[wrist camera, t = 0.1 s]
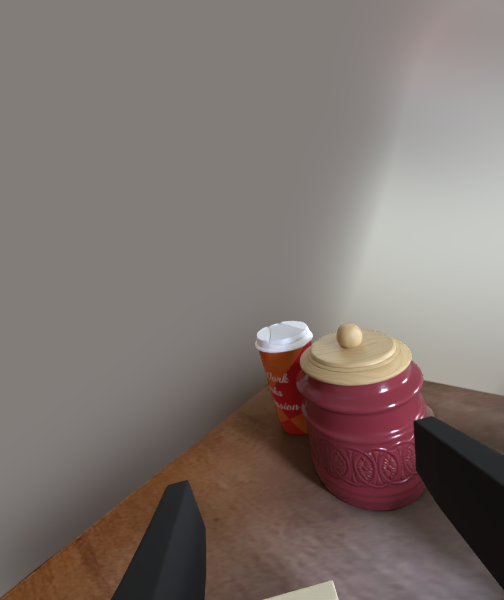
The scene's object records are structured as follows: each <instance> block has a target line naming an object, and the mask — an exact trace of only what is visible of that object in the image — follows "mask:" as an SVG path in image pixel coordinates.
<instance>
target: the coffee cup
mask: <svg viewBox="0 0 504 600" xmlns="http://www.w3.org/2000/svg"><path fill="white" fill-rule="evenodd" d="M268 328H269V329H268ZM256 337H257V340H256V343H255V347H256V348H257V349H258V350H259V352H260V355H261V359H262V362H263V366H264V369H265V373H266V376H267V380H268V383H269V386H270V390H271V393H272V396H273V400H274V403H275V406H276V410H277V413H278V416H279V419H280V422H281V425H282V427H283V429H284V430H285V431H286V432H288V433H291V434H295V435H302V434H307V433H308V430H307V425H306V420H305V418H304V416H303V413H302V409H301V403H302V399H303V396H302V395H301V394H300V392H299V390H298V388H297V384H296V379H297V375H298V373H299V371H300V369H301V365H300V358H301V355H302V354H303V352H304V351H305V350H306V349H307V348H308V347H310V346H311V339H312V337H313V335H312V332H311V331H310V330H309V329H308V327H307V325H306V324H305V323H303V322H299V321H285V322H281V324H278V323H277V324H274V325H271V326H270V327H265V328H263V329H261V330H260V331H259V332H258V333H257V336H256Z"/></svg>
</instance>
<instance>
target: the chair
mask: <svg viewBox="0 0 504 600" xmlns="http://www.w3.org/2000/svg"><path fill="white" fill-rule="evenodd" d="M264 600H338V596H337V593H336V590H335V587H334V584H333V581H332V580H330V581H327V582H323V583H320V584H316V585H313V586H309V587H306V588H302V589H299V590H295V591H292V592H288V593H285V594H281V595H278V596H274V597H271V598H267V599H264Z"/></svg>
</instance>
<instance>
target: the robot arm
mask: <svg viewBox="0 0 504 600" xmlns="http://www.w3.org/2000/svg"><path fill="white" fill-rule="evenodd" d="M413 422H414V441H415V460H416V471H417V473H418V474H419V476H420V478H421V479H422V481H423V482H424V484H425V486H426V487H427V489H428V491H429V492H430V494H431V495H432V497H433V498H434V500H435V501H436V503H437V504H438V506H439V507H440V509H441V510H442V511H443V513H444V514H445V515H446V517H447V518H448V519H449V520H450V522H451V523H452V524H453V526H454V527H455V528H456V529H457V531H458V532H459V533H460V535H461V536H462V537H463V539H464V540H465V541H466V542H467V544H468V545H469V546H470V548H471V549H472V550H473V551H474V553H475V554H476V555H477V557H478V558H479V559H480V560H481V562H482V563H483V564H484V565H485V567H486V568H487V569H488V571H489V572H490V573H491V574H492V576H493V577H494V578H495V580H496V581H497V582H498V583H499V585H500V586H501V587H502V589H503V590H504V455H502V454H500V453H498V452H496V451H494V450H493V449H491V448H489V447H487V446H485V445H484V444H482V443H480V442H478V441H476V440H475V439H473V438H471V437H469V436H467V435H466V434H464V433H462V432H460V431H458V430H457V429H455V428H453V427H451V426H450V425H448V424H446V423H444V422H442V421H441V420H439V419H437V418H435V417H433V416H429V417H426V418H422V419H418V420H414V421H413ZM205 583H206V533H205V525H204V522H203V520H202V517H201V514H200V512H199V509H198V506H197V503H196V501H195V498H194V495H193V492H192V490H191V487H190V484H189V482H188V480H186V481H182V482H179V483H175V484H171V485H168V486H167V488H166V489H165V492H164V494H163V496H162V498H161V500H160V502H159V505H158V507H157V509H156V511H155V513H154V515H153V518H152V520H151V522H150V524H149V526H148V528H147V530H146V532H145V534H144V536H143V539H142V541H141V543H140V545H139V547H138V549H137V551H136V553H135V554H134V556H133V558H132V560H131V562H130V564H129V566H128V568H127V570H126V572H125V574H124V576H123V578H122V580H121V582H120V584H119V586H118V588H117V589H116V591H115V593H114V595H113V597H112V599H111V600H204V598H205Z"/></svg>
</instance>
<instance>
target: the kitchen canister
mask: <svg viewBox="0 0 504 600" xmlns="http://www.w3.org/2000/svg"><path fill="white" fill-rule="evenodd" d="M300 365H301V369H300V371H299V373H298V375H297V379H296V384H297V388H298V390H299V392H300V394H301V395H302V396H303V399H302V403H301V409H302V413H303V416H304V418H305V420H306V425H307V430H308V435H309V440H310V453H311V457H312V462H313V465H314V467H315V470H316V471H317V473H318V476H319V478H320V480H321V481H322V483H323V484H324V485H325V487H326V488H327V489H328V490H329V491H330V492H331V493H332V494H334V495H335V496H336V497H338V498H339V499H341V500H343V501H345V502H347V503H349V504H351V505H354V506H357V507H360V508H364V509H369V510H392V509H397V508H400V507H403V506H406V505H408V504H410V503H412V502H413V501H415V500H416V499H417V498H418V497H419V496H420V495H421V494H422V493H423V492H424V490H425V488H426V486H425V484H424V482H423V481H422V479H421V478H420V476H419V474H418V473H417V471H416V460H415V441H414V422H413V421H414V420H418V419H422V418H425V415H426V404H425V400H424V398H423V396H422V395H421V393H420V392H419V391H420V390H421V388H422V385H423V374H422V372H421V370H420V368H419V367H418V366H417V364H415V363H414V362H413V361H412V360H411V352H410V350H409V348H408V347H407V346H406V345H405V344H403V343H402V342H400V341H398V340H396V339H394V338H391V337H389V336H387V335H386V334H383V333H381V332H377V331H372V330H360V328H359V327H358V326H356V325H355V324H352V323H347V324H343V325H341V326H340V327H339V328H338V330H337V332H335V333H331V334H328V335H326V336H323V337H321V338H320V339H318V340H317V341H316V342H315V343H314V344H313V345H311V346H310V347H308V348H307V349H306V350H305V351H304V352H303V354H302V355H301V358H300Z"/></svg>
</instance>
